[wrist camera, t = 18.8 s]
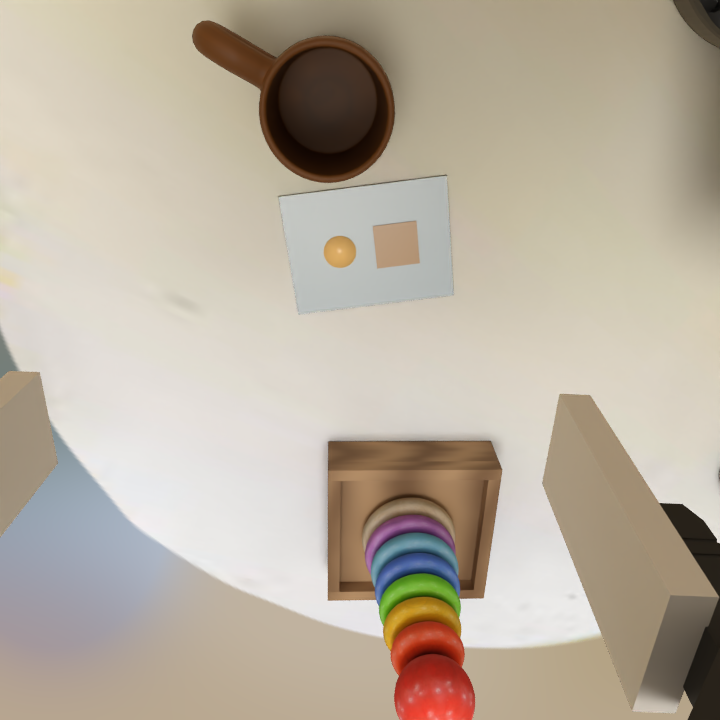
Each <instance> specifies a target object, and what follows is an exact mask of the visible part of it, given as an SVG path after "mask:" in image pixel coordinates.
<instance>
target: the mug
mask: <svg viewBox="0 0 720 720" xmlns="http://www.w3.org/2000/svg"><path fill="white" fill-rule="evenodd" d="M192 38H193V43H194V45H195V47H196V49H197V50H198V51H199V52H200V53H202V54H203V55H204V56H205V57H207V58H208V59H210V60H211V61H213V62H214V63H216V64H218V65H219V66H221V67H223V68H224V69H226V70H228V71H229V72H231V73H233V74H235V75H237V76H238V77H240V78H242V79H244V80H246V81H247V82H249V83H251V84H253V85H255V86H256V87H258V88H259V89H260V90H261V94H260V102H259V116H260V124H261V128H262V132H263V135H264V137H265V140H266V142H267V144H268V146H269V148H270V149H271V151H272V152H273V154H274V155H275V157H276V158H277V159H278V160H279V161H280V162H281V163H282V164H283V165H284V166H285V167H286V168H288V169H289V170H290V171H292V172H293V173H295V174H297V175H299V176H301V177H303V178H305V179H308V180H311V181H316V182H324V183H333V182H340V181H345V180H348V179H351V178H354V177H355V176H357V175H359V174H361V173H363V172H364V171H366V170H367V169H368V168H369V167H371V166H372V165H373V164H374V163H375V162H376V161H377V159H378V158H379V157H380V156H381V154H382V153H383V151H384V150H385V148H386V146H387V144H388V142H389V139H390V136H391V134H392V130H393V125H394V117H395V106H394V98H393V92H392V88H391V85H390V82H389V80H388V77H387V75H386V73H385V72H384V70H383V68H382V66H381V65H380V64H379V63H378V61H377V60H376V59H375V58H374V57H373V56H372V55H371V54H370V53H369V52H368V51H367V50H365V49H364V48H363V47H361V46H360V45H358V44H356V43H354V42H352V41H350V40H347V39H345V38H340V37H336V36H316V37H311V38H307V39H305V40H302V41H299V42H298V43H296V44H294V45H292V46H291V47H289V48H288V49H287V50H285V51H284V52H283V53H282V54H281V55H280V56H279V57H278V58H276V57H274V56H272V55H271V54H269V53H267V52H265V51H264V50H262V49H260V48H259V47H257V46H256V45H254V44H252V43H251V42H249V41H247V40H246V39H244V38H242V37H241V36H239V35H237V34H235V33H234V32H232V31H230V30H228V29H227V28H225V27H223V26H221V25H219V24H217V23H215V22H212V21H202V22H200V23H198V24H197V25H196V27H195V28H194V30H193V35H192Z"/></svg>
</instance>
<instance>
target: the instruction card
mask: <svg viewBox="0 0 720 720" xmlns="http://www.w3.org/2000/svg"><path fill="white" fill-rule="evenodd" d="M278 198H279V203H280V209H281V215H282V221H283V227H284V233H285V238H286V244H287V250H288V256H289V262H290V268H291V274H292V279H293V285H294V291H295V297H296V303H297V309H298V314H307V313H315V312H323V311H331V310H339V309H347V308H355V307H363V306H371V305H379V304H387V303H395V302H403V301H412V300H420V299H428V298H436V297H444V296H452V295H454V294H453V276H452V258H451V240H450V222H449V204H448V185H447V175H444V176H437V177H429V178H421V179H413V180H405V181H397V182H389V183H381V184H373V185H366V186H358V187H350V188H342V189H334V190H326V191H318V192H310V193H303V194H295V195H287V196H279V197H278Z"/></svg>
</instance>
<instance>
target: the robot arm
mask: <svg viewBox="0 0 720 720" xmlns="http://www.w3.org/2000/svg"><path fill="white" fill-rule="evenodd" d="M674 3H675V5H676V7H677V8H678V10H679V12H680V14H681V15H682V17H683V18H684V20H685V21H686V22H687V24H688V25H689V26H690V27H691V28H692V29H693V30H694V31H695V32H696V33H697V34H698V35H699V36H700V37H702V38H703V39H704V40H706V41H707V42H709V43H711V44H712V45H714V46H717V47H719V48H720V0H674ZM57 464H58V461H57V456H56V451H55V446H54V441H53V436H52V431H51V426H50V421H49V416H48V411H47V406H46V401H45V396H44V391H43V386H42V381H41V376H40V372H20V371H9V372H8V373H7V374H5V375H4V376H3V377H2V378H1V379H0V537H1V536H2V534H3V533H4V532H5V531H6V529H7V528H8V527H9V525H10V524H11V523H12V522H13V520H14V519H15V518H16V516H17V515H18V514H19V513H20V511H21V510H22V509H23V507H24V506H25V505H26V504H27V502H28V501H29V500H30V499H31V497H32V496H33V495H34V493H35V492H36V491H37V489H38V488H39V487H40V486H41V484H42V483H43V482H44V480H45V479H46V478H47V477H48V475H49V474H50V473H51V472H52V470H53V469H54V468H55V466H56V465H57ZM542 484H543V487H544V489H545V492H546V494H547V497H548V499H549V502H550V505H551V507H552V510H553V512H554V515H555V517H556V520H557V522H558V525H559V527H560V530H561V532H562V535H563V538H564V540H565V543H566V545H567V548H568V550H569V553H570V555H571V558H572V560H573V563H574V565H575V568H576V570H577V573H578V576H579V578H580V581H581V583H582V586H583V588H584V591H585V593H586V596H587V598H588V601H589V603H590V606H591V609H592V611H593V614H594V616H595V619H596V621H597V624H598V626H599V629H600V631H601V634H602V636H603V639H604V641H605V644H606V647H607V649H608V652H609V654H610V657H611V659H612V662H613V664H614V667H615V669H616V672H617V674H618V677H619V679H620V682H621V685H622V687H623V690H624V692H625V695H626V697H627V700H628V702H629V705H630V707H631V710H632V711H635V712H636V711H637V712H659V713H676V710H677V708H678V705H679V703H680V700H681V697H682V695H683V692H684V690H685V692H686V694H687V696H688V698H689V700H690V702H691V704H692V706H693V709H692V711H691V713H690V716H689V718H688V720H720V543H717V539H716V537H715V536H714V535H713V533H712V532H711V530H710V529H709V528H708V526H707V525H706V523H705V522H704V521H703V520H702V519H701V518H699V517H698V516H697V515H696V514H694V513H693V512H692V511H690V510H689V509H688V508H687V507H685V506H684V505H683V504H666V503H659V502H658V501H657V499H656V498H655V496H654V494H653V493H652V491H651V490H650V488H649V487H648V485H647V483H646V482H645V480H644V479H643V477H642V476H641V474H640V472H639V471H638V469H637V468H636V466H635V465H634V463H633V462H632V460H631V458H630V457H629V455H628V454H627V452H626V451H625V449H624V447H623V446H622V444H621V443H620V441H619V440H618V438H617V437H616V435H615V433H614V432H613V430H612V429H611V427H610V426H609V424H608V422H607V421H606V419H605V418H604V416H603V415H602V413H601V411H600V410H599V408H598V407H597V405H596V404H595V402H594V401H593V399H592V397H591V396H590V395H573V394H560V395H559V400H558V405H557V410H556V415H555V421H554V426H553V431H552V436H551V441H550V446H549V451H548V456H547V462H546V467H545V472H544V477H543V482H542Z"/></svg>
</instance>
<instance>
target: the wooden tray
mask: <svg viewBox="0 0 720 720" xmlns="http://www.w3.org/2000/svg"><path fill="white" fill-rule="evenodd" d="M501 475H502V468H501V465H500V463H499V461H498V458H497V456H496V453H495V451H494V448H493V446H492V444H491V441H370V442H328V600H376V597H375V587H374V585H373V582H372V579H371V574H370V573H369V571H368V569H367V566H366V562H365V552H364V549H363V545H362V533H363V529H364V526H365V524H366V522H367V521H368V519H369V517H370V516H371V515H372V514H373V513H374V512H375V511H376V510H377V509H378V508H380V507H381V506H383V505H384V504H386V503H388V502H391V501H393V500H397V499H401V498H421V499H425V500H428V501H431V502H433V503H435V504H437V505H439V506H440V507H441V508H443V509H444V510H445V511H446V513H447V514H448V515H449V516H450V518H451V520H452V522H453V525H454V528H455V550H456V558H457V562H458V568H459V571H458V578H459V582H460V595H459V599H467V598H484V592H485V585H486V578H487V571H488V565H489V558H490V551H491V544H492V537H493V530H494V523H495V517H496V510H497V503H498V496H499V489H500V482H501Z"/></svg>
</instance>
